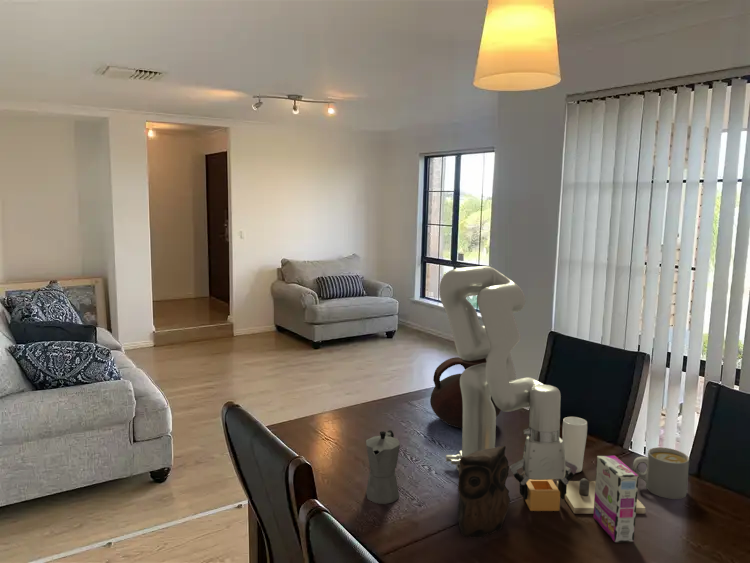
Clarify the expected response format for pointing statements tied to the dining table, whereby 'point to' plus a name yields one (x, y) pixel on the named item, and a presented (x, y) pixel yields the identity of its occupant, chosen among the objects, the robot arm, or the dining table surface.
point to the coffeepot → (382, 468)
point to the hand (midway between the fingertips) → (542, 496)
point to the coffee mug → (665, 472)
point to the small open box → (542, 495)
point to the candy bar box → (615, 498)
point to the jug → (451, 393)
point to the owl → (483, 492)
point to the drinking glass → (574, 440)
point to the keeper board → (586, 497)
